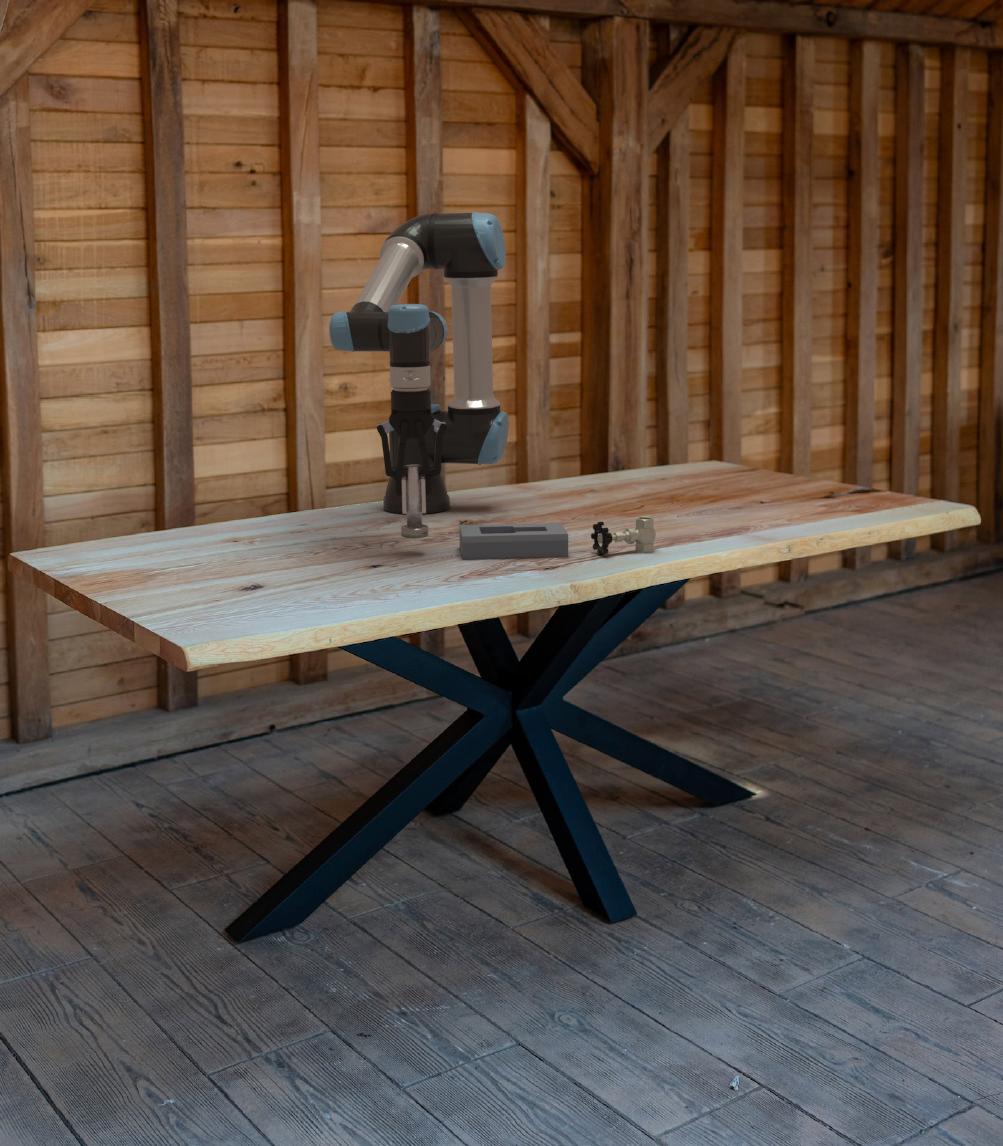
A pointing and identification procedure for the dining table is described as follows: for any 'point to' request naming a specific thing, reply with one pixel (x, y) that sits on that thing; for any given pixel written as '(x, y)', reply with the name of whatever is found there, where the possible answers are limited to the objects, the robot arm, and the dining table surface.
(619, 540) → the valve
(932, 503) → the dining table surface
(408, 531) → the flanged metal peg
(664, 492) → the dining table surface
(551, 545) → the keyhole board
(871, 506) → the dining table surface
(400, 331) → the robot arm
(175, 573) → the dining table surface
